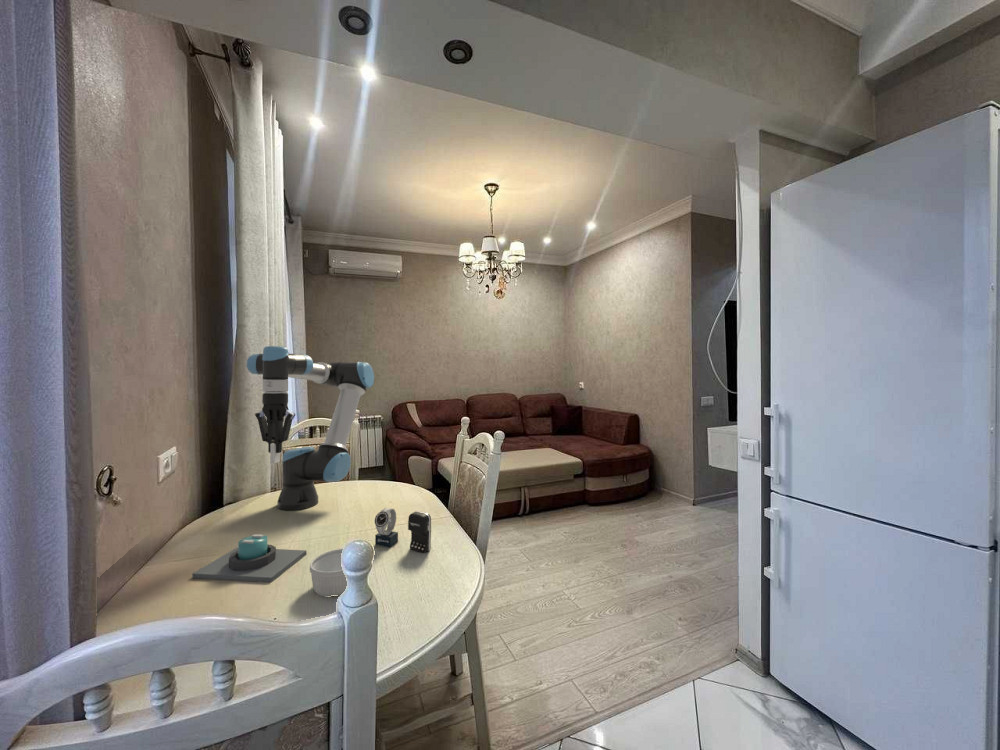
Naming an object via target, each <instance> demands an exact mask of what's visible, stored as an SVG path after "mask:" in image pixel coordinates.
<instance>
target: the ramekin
mask: <svg viewBox="0 0 1000 750" xmlns="http://www.w3.org/2000/svg"><path fill="white" fill-rule="evenodd" d="M342 550H343V548H337V549H331V550H329V551H326V552H323V553H321V554H319V555H318V556H316V557H314V558H313V559H312V560H311V562H310V563H309V572H310V574H311V581H312V587H313V590H314V592H315V593H317V595H318V596H320V597H323V596H331V595H338V597H341V596H340V595H341V594H342V593H343V592H344V591H345V589H346V586H347V581H346V577H345V575H344V573H343V570H342V567H341V553H342Z"/></svg>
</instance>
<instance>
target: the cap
mask: <svg viewBox="0 0 1000 750" xmlns="http://www.w3.org/2000/svg"><path fill="white" fill-rule="evenodd" d="M267 544H268V536H267V535H266V534H265V535H264V534H256V533H255V534H253V535H250V536H246V537H243V538H241V539H240V540H239V541H238V542H237V547H238V560H249V559H255V558H258V557H261V556H264V555H266V554H267Z"/></svg>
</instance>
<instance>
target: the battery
mask: <svg viewBox="0 0 1000 750" xmlns="http://www.w3.org/2000/svg"><path fill="white" fill-rule="evenodd" d="M407 520H408V521H407V523H408V524H407V530H408V531H410V532H411V535H410V536H411V537H410V538H411V539H410V544H409V549H410V550H412V551H415V552H419V553H423V554H424V553H427V552H429V551H430V550H431V549H432V548H431V537H432V516H431V514H429V513H428V512H424V511H420V510H415V511H414V512H412V513H410V514H409V515H408V519H407Z"/></svg>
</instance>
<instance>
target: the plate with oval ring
mask: <svg viewBox="0 0 1000 750" xmlns="http://www.w3.org/2000/svg"><path fill="white" fill-rule="evenodd" d="M306 555H307V550H302V549H287V548H286V549H284V548H283V549H282V548H281V549H279V548H277V547H276V546H274V545H273V544H268V543H267V554H266V555H264V556H261V557H258V558H255V559H249V560H238V546H237V547H235V548H234V549H232V550H230V551H228V552H226V553H225V554H223V555H221V556H220V557H218V558H216V559H214V560H213V561H211V562H209V563H208V564H206V565H205V566H203V567H201V568H199V569H197V570H196V571H194V572H193V573H192V574H191V575H192V577H191V578H192V579H207V580H220V581H221V580H224V581H225V580H226V581H241V582H243V581H244V582H260V583H262V582H264V583H272V582H274V581H275V580H276V579H277V578H279V577H280V576H281V575H283V574H284V573H285V572H287V570H289V569H290V568H291V567H293V566H294V565H295V564H296V563H298V562H299V561H300V560H301V559H303V558H304V557H305V556H306Z"/></svg>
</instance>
